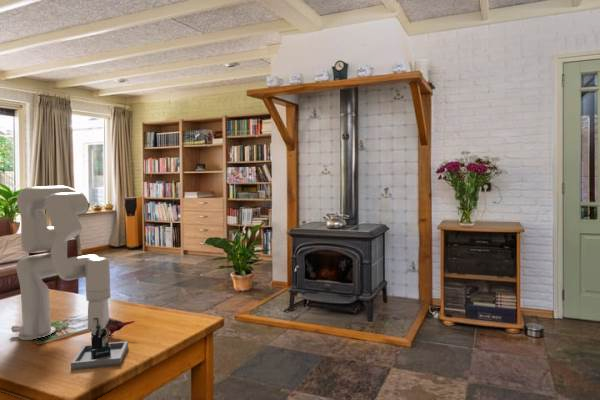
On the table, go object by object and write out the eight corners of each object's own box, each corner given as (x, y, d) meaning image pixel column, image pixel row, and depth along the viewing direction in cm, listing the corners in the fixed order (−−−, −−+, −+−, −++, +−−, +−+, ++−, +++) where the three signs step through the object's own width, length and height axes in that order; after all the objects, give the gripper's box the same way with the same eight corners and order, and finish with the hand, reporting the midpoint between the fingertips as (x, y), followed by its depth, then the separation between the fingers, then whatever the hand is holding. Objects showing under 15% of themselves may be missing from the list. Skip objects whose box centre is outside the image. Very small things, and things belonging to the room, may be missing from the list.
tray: (71, 370, 140) (70, 363, 140) (83, 351, 155) (83, 345, 155) (120, 365, 143) (120, 358, 143) (128, 347, 158) (128, 341, 158)
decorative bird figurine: (92, 335, 170) (91, 310, 170) (137, 335, 170) (136, 310, 169) (88, 338, 167) (87, 312, 167) (134, 338, 167) (133, 312, 166)
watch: (93, 361, 145) (92, 329, 144) (90, 352, 152) (89, 322, 151) (112, 357, 148) (110, 326, 147) (107, 349, 155) (106, 318, 154)
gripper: (92, 288, 155) (95, 335, 156) (79, 302, 138) (81, 354, 140) (115, 286, 157) (117, 333, 158) (104, 300, 140) (106, 352, 141)
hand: (100, 343), depth 149 cm, fingers open, 9 cm apart
